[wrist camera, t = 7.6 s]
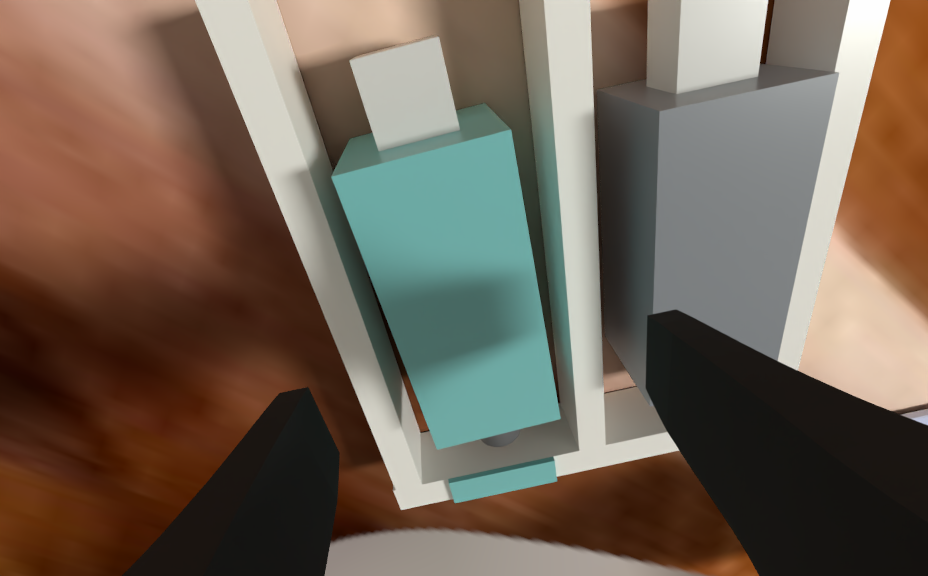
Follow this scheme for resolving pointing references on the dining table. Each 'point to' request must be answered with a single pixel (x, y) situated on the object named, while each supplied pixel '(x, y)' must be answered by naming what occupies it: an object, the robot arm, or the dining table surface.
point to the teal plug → (448, 248)
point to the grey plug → (707, 178)
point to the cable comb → (563, 224)
